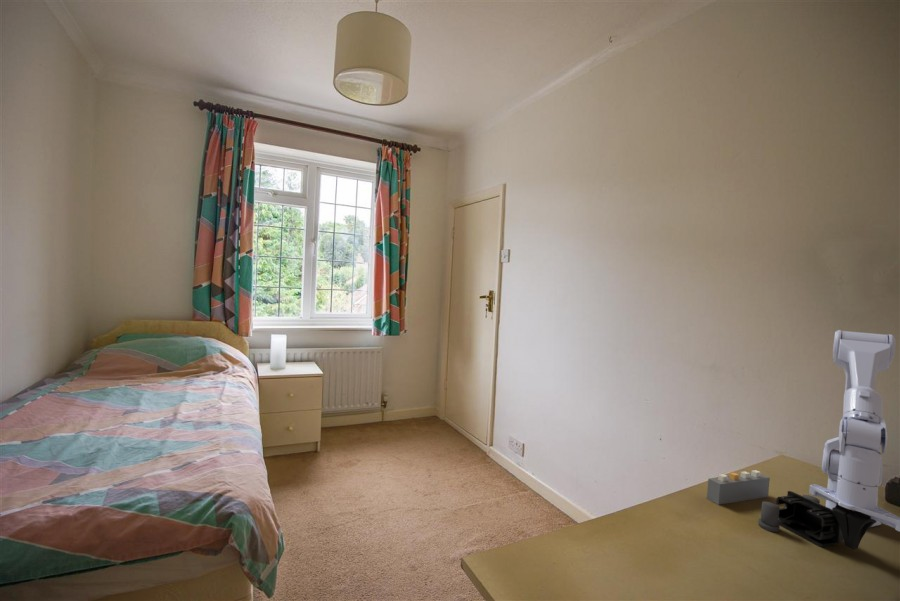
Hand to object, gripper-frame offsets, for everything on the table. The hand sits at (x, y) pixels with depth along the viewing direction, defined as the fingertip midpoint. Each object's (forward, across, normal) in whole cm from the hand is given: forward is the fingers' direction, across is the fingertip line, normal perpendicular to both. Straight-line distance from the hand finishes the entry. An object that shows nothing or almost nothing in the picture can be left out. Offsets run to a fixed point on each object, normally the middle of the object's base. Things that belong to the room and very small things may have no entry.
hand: (851, 547), depth 81 cm
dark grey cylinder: (+1, -11, +7) cm, 13 cm away
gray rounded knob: (+1, -11, -7) cm, 13 cm away
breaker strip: (+1, -22, 0) cm, 22 cm away
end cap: (+2, -7, 0) cm, 7 cm away
